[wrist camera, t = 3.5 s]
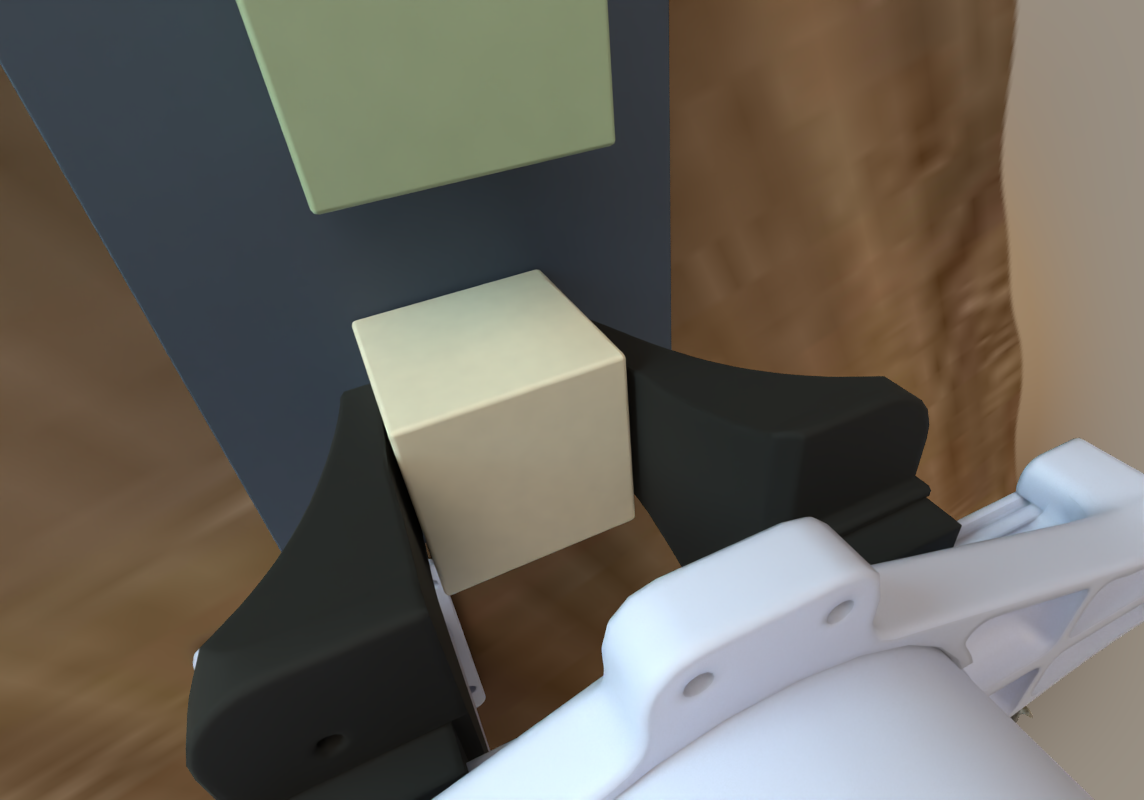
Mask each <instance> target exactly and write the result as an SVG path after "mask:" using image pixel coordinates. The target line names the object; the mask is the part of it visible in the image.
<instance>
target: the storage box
mask: <svg viewBox="0 0 1144 800" xmlns="http://www.w3.org/2000/svg"><path fill="white" fill-rule="evenodd" d="M607 2H608V20H609V38H610V55H611V73H612V91H613V108H614V126H615V143H614V144H613V145H611V146H608V147H604V148H600V149H595V150H591V151H587V152H583V153H578V154H574V155H570V156H566V157H562V158H557V159H553V160H549V161H545V162H540V163H536V164H532V165H528V166H523V167H519V168H515V169H511V170H506V171H502V172H498V173H494V174H489V175H485V176H481V177H477V178H472V179H468V180H464V181H460V182H456V183H451V184H447V185H443V186H439V187H434V188H430V189H426V190H422V191H417V192H413V193H409V194H405V195H400V196H396V197H392V198H388V199H383V200H379V201H375V202H371V203H366V204H362V205H358V206H354V207H350V208H345V209H341V210H337V211H333V212H328V213H324V214H320V215H319V214H314V213H313V212H312V211H311V210H310V207H309V205H308V202H307V199H306V196H305V193H304V191H303V188H302V185H301V182H300V179H299V177H298V174H297V171H296V168H295V165H294V163H293V160H292V157H291V154H290V151H289V149H288V146H287V143H286V140H285V137H284V135H283V132H282V129H281V126H280V123H279V121H278V118H277V115H276V112H275V109H274V107H273V104H272V101H271V98H270V95H269V92H268V90H267V87H266V84H265V81H264V78H263V76H262V73H261V70H260V67H259V64H258V62H257V59H256V56H255V53H254V50H253V48H252V45H251V42H250V39H249V36H248V34H247V31H246V28H245V25H244V22H243V20H242V17H241V14H240V11H239V8H238V6H237V3H236V0H0V64H1V66H2V68H3V69H4V71H5V73H6V75H7V76H8V78H9V80H10V82H11V83H12V85H13V87H14V89H15V90H16V92H17V94H18V95H19V97H20V99H21V101H22V102H23V104H24V106H25V108H26V109H27V111H28V113H29V115H30V116H31V118H32V120H33V121H34V123H35V125H36V127H37V128H38V130H39V132H40V134H41V135H42V137H43V139H44V141H45V142H46V144H47V146H48V148H49V149H50V151H51V153H52V154H53V156H54V158H55V160H56V161H57V163H58V165H59V167H60V168H61V170H62V172H63V174H64V175H65V177H66V179H67V181H68V182H69V184H70V186H71V187H72V189H73V191H74V193H75V194H76V196H77V198H78V200H79V201H80V203H81V205H82V207H83V208H84V210H85V212H86V214H87V215H88V217H89V219H90V220H91V222H92V224H93V226H94V227H95V229H96V231H97V233H98V234H99V236H100V238H101V240H102V241H103V243H104V245H105V246H106V248H107V250H108V252H109V253H110V255H111V257H112V259H113V260H114V262H115V264H116V266H117V267H118V269H119V271H120V273H121V274H122V276H123V278H124V279H125V281H126V283H127V285H128V286H129V288H130V290H131V292H132V293H133V295H134V297H135V299H136V300H137V302H138V304H139V306H140V307H141V309H142V311H143V312H144V314H145V316H146V318H147V319H148V321H149V323H150V325H151V326H152V328H153V330H154V332H155V333H156V335H157V337H158V339H159V340H160V342H161V344H162V345H163V347H164V349H165V351H166V352H167V354H168V356H169V358H170V359H171V361H172V363H173V365H174V366H175V368H176V370H177V372H178V373H179V375H180V377H181V378H182V380H183V382H184V384H185V385H186V387H187V389H188V391H189V392H190V394H191V396H192V398H193V399H194V401H195V403H196V404H197V406H198V408H199V410H200V411H201V413H202V415H203V417H204V418H205V420H206V422H207V424H208V425H209V427H210V429H211V431H212V432H213V434H214V436H215V437H216V439H217V441H218V443H219V444H220V446H221V448H222V450H223V451H224V453H225V455H226V457H227V458H228V460H229V462H230V464H231V465H232V467H233V469H234V470H235V472H236V474H237V476H238V477H239V479H240V481H241V483H242V484H243V486H244V488H245V490H246V491H247V493H248V495H249V497H250V498H251V500H252V502H253V503H254V505H255V507H256V509H257V510H258V512H259V514H260V516H261V517H262V519H263V521H264V523H265V524H266V526H267V528H268V529H269V531H270V533H271V535H272V536H273V538H274V540H275V542H276V543H277V545H278V547H279V549H280V550H281V552H282V551H283V550H284V548H285V546H286V545H287V543H288V541H289V540H290V538H291V536H292V535H293V533H294V531H295V530H296V528H297V526H298V524H299V523H300V521H301V519H302V517H303V515H304V513H305V511H306V509H307V507H308V505H309V503H310V501H311V499H312V496H313V494H314V492H315V490H316V487H317V485H318V482H319V480H320V477H321V474H322V472H323V469H324V466H325V464H326V461H327V458H328V455H329V451H330V448H331V444H332V441H333V437H334V434H335V429H336V425H337V420H338V415H339V408H340V397H341V396H342V394H343V393H344V391H348V390H351V389H354V388H357V387H360V386H364V385H367V384H370V380H369V377H368V374H367V371H366V368H365V365H364V362H363V359H362V356H361V353H360V350H359V347H358V344H357V341H356V338H355V335H354V332H353V329H352V323H353V322H354V321H356V320H359V319H363V318H367V317H370V316H374V315H377V314H381V313H384V312H388V311H391V310H395V309H398V308H402V307H405V306H409V305H412V304H416V303H419V302H423V301H426V300H430V299H433V298H437V297H440V296H444V295H448V294H451V293H455V292H458V291H462V290H465V289H469V288H472V287H476V286H479V285H483V284H486V283H490V282H493V281H497V280H500V279H504V278H507V277H511V276H514V275H518V274H521V273H525V272H528V271H532V270H536V269H537V270H540V271H541V272H542V273H543V274H544V275H545V276H546V277H547V278H548V279H549V280H550V281H551V282H552V283H553V284H554V285H555V286H556V287H557V288H558V289H559V290H560V291H561V292H562V293H563V294H564V295H565V296H566V297H567V298H568V299H569V300H570V301H571V302H572V303H573V304H574V305H575V306H576V307H577V308H578V309H579V310H580V311H581V312H582V313H583V314H584V315H585V316H586V317H587V318H588V319H590V320H593V321H596V322H598V323H601V324H604V325H606V326H609V327H611V328H614V329H616V330H619V331H621V332H624V333H626V334H629V335H631V336H634V337H636V338H639V339H641V340H644V341H647V342H649V343H652V344H655V345H658V346H661V347H663V348H666V349H669V350H671V252H670V110H669V0H607ZM423 537H424V535H423ZM424 541H425V543H426V540H425V537H424Z"/></svg>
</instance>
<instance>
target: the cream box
mask: <svg viewBox="0 0 1144 800" xmlns="http://www.w3.org/2000/svg"><path fill="white" fill-rule="evenodd" d="M352 329H353V332H354V335H355V338H356V341H357V344H358V347H359V350H360V353H361V356H362V359H363V362H364V365H365V368H366V371H367V374H368V377H369V380H370V383H371V386H372V389H373V392H374V395H375V398H376V401H377V404H378V407H379V410H380V413H381V416H382V419H383V422H384V425H385V428H386V431H387V435H388V437H389V440H390V443H391V446H392V449H393V451H394V454H395V457H396V460H397V462H398V465H399V468H400V471H401V474H402V476H403V479H404V482H405V485H406V487H407V490H408V493H409V496H410V499H411V501H412V504H413V507H414V510H415V512H416V515H417V518H418V521H419V524H420V526H421V529H422V532H423V535H424V537H425V540H426V543H427V546H428V548H429V551H430V554H431V557H432V560H433V562H434V565H435V568H436V571H437V573H438V576H439V579H440V582H441V585H442V587H443V590H444V592H445V593H446V594H447V595H453V594H455V593H458V592H460V591H462V590H465V589H467V588H470V587H472V586H474V585H477V584H479V583H482V582H484V581H486V580H489V579H491V578H494V577H496V576H498V575H501V574H503V573H506V572H508V571H510V570H513V569H515V568H518V567H520V566H522V565H525V564H527V563H530V562H532V561H535V560H537V559H539V558H542V557H544V556H547V555H549V554H551V553H554V552H556V551H559V550H561V549H563V548H566V547H568V546H571V545H573V544H575V543H578V542H580V541H583V540H585V539H587V538H590V537H592V536H595V535H597V534H599V533H602V532H604V531H607V530H609V529H611V528H614V527H616V526H619V525H621V524H623V523H626V522H628V521H631V520H633V519H634V517H635V507H634V491H633V474H632V457H631V440H630V423H629V406H628V389H627V372H626V358H625V355H624V354H623V353H622V352H621V351H620V350H619V349H618V348H617V347H616V346H615V345H614V344H613V343H612V342H611V341H610V340H609V339H608V338H607V337H606V336H605V335H604V334H603V333H602V332H601V331H600V330H599V329H598V328H597V327H596V326H595V325H594V324H593V323H592V322H591V321H590V320H589V319H588V318H587V317H586V316H585V315H584V314H583V313H582V312H581V311H580V310H579V309H578V308H577V307H576V306H575V305H574V304H573V303H572V302H571V301H570V300H569V299H568V298H567V297H566V296H565V295H564V294H563V293H562V292H561V291H560V290H559V289H558V288H557V287H556V286H555V285H554V284H553V283H552V282H551V281H550V280H549V279H548V278H547V277H546V276H545V275H544V274H543V273H542V272H541V271H540V270H537V269H536V270H532V271H528V272H525V273H521V274H518V275H514V276H511V277H507V278H504V279H500V280H497V281H493V282H490V283H486V284H483V285H479V286H476V287H472V288H469V289H465V290H462V291H458V292H455V293H451V294H448V295H444V296H440V297H437V298H433V299H430V300H426V301H423V302H419V303H416V304H412V305H409V306H405V307H402V308H398V309H395V310H391V311H388V312H384V313H381V314H377V315H374V316H370V317H367V318H363V319H359V320H356V321H354V322H353V323H352Z"/></svg>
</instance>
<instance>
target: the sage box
mask: <svg viewBox="0 0 1144 800" xmlns="http://www.w3.org/2000/svg"><path fill="white" fill-rule="evenodd" d="M236 3H237V6H238V8H239V11H240V14H241V17H242V20H243V22H244V25H245V28H246V31H247V34H248V36H249V39H250V42H251V45H252V48H253V50H254V53H255V56H256V59H257V62H258V64H259V67H260V70H261V73H262V76H263V78H264V81H265V84H266V87H267V90H268V92H269V95H270V98H271V101H272V104H273V107H274V109H275V112H276V115H277V118H278V121H279V123H280V126H281V129H282V132H283V135H284V137H285V140H286V143H287V146H288V149H289V151H290V154H291V157H292V160H293V163H294V165H295V168H296V171H297V174H298V177H299V179H300V182H301V185H302V188H303V191H304V193H305V196H306V199H307V202H308V205H309V207H310V210H311V211H312V212H313V213H314V214H319V215H320V214H324V213H328V212H333V211H337V210H341V209H345V208H350V207H354V206H358V205H362V204H366V203H371V202H375V201H379V200H383V199H388V198H392V197H396V196H400V195H405V194H409V193H413V192H417V191H422V190H426V189H430V188H434V187H439V186H443V185H447V184H451V183H456V182H460V181H464V180H468V179H472V178H477V177H481V176H485V175H489V174H494V173H498V172H502V171H506V170H511V169H515V168H519V167H523V166H528V165H532V164H536V163H540V162H545V161H549V160H553V159H557V158H562V157H566V156H570V155H574V154H578V153H583V152H587V151H591V150H595V149H600V148H604V147H608V146H611V145H613V144H614V143H615V126H614V108H613V91H612V73H611V55H610V38H609V20H608V2H607V0H236Z"/></svg>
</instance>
